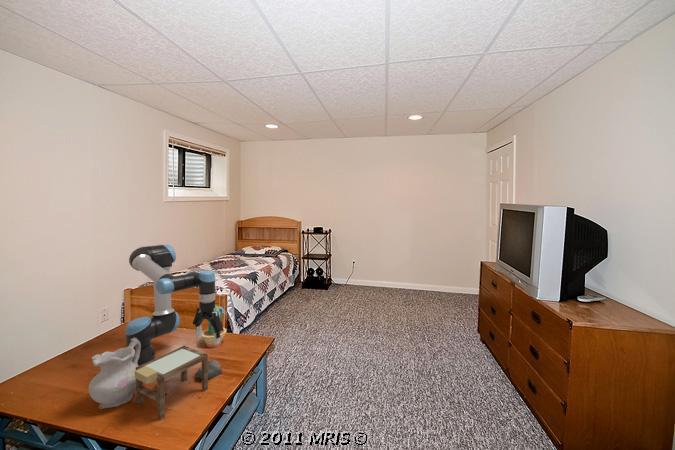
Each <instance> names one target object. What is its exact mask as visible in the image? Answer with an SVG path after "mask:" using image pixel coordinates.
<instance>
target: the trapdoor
mask: <svg viewBox="0 0 675 450" xmlns="http://www.w3.org/2000/svg"><path fill="white" fill-rule="evenodd" d="M199 356H201V355H198V354H196V353H193V352H190V351H188V350H185V349H180V350H178V351H176V352H174V353H172V354H170V355H167V356H165V357H163V358H161V359H159V360H156V361H154V362H152V363H150V364H148V365H146V366H143V367H142V368H140V369H138V370H136V371H135V378H136V379H138V380H140V381H142V382H143V383H144V384H146V385H148V384H150V383H152V382H154V381H157V378H158V377H160V376H162V375H164V374H166V373H168V372H170V371H172V370H174V369H175V368H177V367H179V366H181V365H183V364H185V363H187V362H189V361H191V360H193V359H195V358H197V357H199Z"/></svg>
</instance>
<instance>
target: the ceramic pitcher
mask: <svg viewBox="0 0 675 450" xmlns="http://www.w3.org/2000/svg"><path fill="white" fill-rule="evenodd" d="M134 346H135V347H136V352H135V350H134V349H133V348H134ZM140 350H141V343H140V341H139V340H137V338H135V337H134V338H132V339H130V344H129V346H128V347H127V348H126V347H122V348H119V349H116V350H115V351H104V352H103V353H101V354H99V353H97V354H95V355H93V356H92V357H91V362H92V365H93V366H94V367H100V372H99V373H97V374H96V375H95V376H93V378H92V379H91V380H90V382H89V384H88V393H89V396H90V397H91V399H92V400H93V401H94V402H95V403H98V404H99V405H98V409H100V410H102V409H108V408H117V407H118V408H119V407H121V406H123V405H125V404H127V403H128V402H130V401H132V400H133V397H134V394H135V393H136V378H135V371H136V367H138V364H137V362H138V359H139V356H140ZM134 354H135V356H134ZM133 357H134V361H133V362H132V360H133Z"/></svg>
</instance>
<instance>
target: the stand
mask: <svg viewBox="0 0 675 450" xmlns="http://www.w3.org/2000/svg"><path fill="white" fill-rule="evenodd" d="M180 349H185V350H188V351H190V352H193V353H196V354H198V355H201V356H199V357H197V358H195V359H193V360H191V361H189V362H187V363H185V364H183V365H181V366H179V367H177V368H175V369H174V370H172V371H170V372H168V373H166V374H164V375H162V376H158V378H157V379H156V389H157V391H154V390H152V389H151V388H149V387H147V386H145V385H143V383H144V382H142V381H140V380H138V379H136V391H135V395H136V396H135V398H136V400H135V401H136V407H138V408H140V407H142V406H143V405H144V396H147V397H148V398H149V399H152V400H153V401H156V402H157V419H158V420H160V421H161V420H163V419H164V418H165V417H166V411H165V410H166V408H165V407H166V406H165V405H166V400H165V399H166V398H165V382H166V381H168V380H170V379H172V378H173V377H176V376H178V375H179V374H180V376H181V377H180V379H181V380H180V381H181V382H185V381H187V380H188V378H187V377H188V373H187V372H188V369H191V368H192V367H194V366H196V365H198V364H200V363H201V366H202V377H201V378H202V379H201V391H202V392H206V391H208V389H209V381H208V380H209V379H208V360H209V359H208V353H205V352H202V351H200V350H196V349H194V348H191V347H189V346H186V345H183V346H180V347H178V348H175V349H174V350H171V351H168V352H167V353H165V354H162V355H161V356H158V357H155V359H153V360H151V361H149V362H147V363H145V364H142V365H140V366H138V367H136V370H138V369H140V368H142V367H143V366H146V365H148V364H150V363H152V362H154V361H156V360H159V359H161V358H163V357H165V356H167V355H170V354H172V353H174V352H176V351H178V350H180Z"/></svg>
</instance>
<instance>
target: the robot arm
mask: <svg viewBox="0 0 675 450" xmlns="http://www.w3.org/2000/svg"><path fill="white" fill-rule="evenodd" d="M176 260H177V254H176V250H175V249H174V248H173V246H172V245H170V244H158V245H157V244H156V245H149V246H148V245H147V246H141V247H138V248H136V249H135V250H133V251H132V252H131V253H130V255H129V257H128V263H129V266H130V267H131V268H132V269H133V270H134V271H137V272H139V271H140V272H141V273H142V274H143V275H145V276H146V277H147V278H148V279H150V281H152V283H153V295H154V297H153V299H154V311H153V312H152V315H151V316H152V317H149V316H143V317H142V316H141V317H138V318H135V319H133V320H131V321H129V322H128V323H127V324H126V326H125V342H126V344H125V345H126V347H125V348H127V347H128V346H129V344H130V339H132V338H134V337H135V338H137V340H139V341H140V343H141V350H140V356H139V359H138V362H137V364H138V366H140V365H142V364H145V363H147V362H149V361H151V360H153V359H156V351H155V350H154V348H153V346H152V340H153V339H155V338H159V337H162V336H164V335H167V334H168V335H169V334H171V333H173V332H175V331H176V330H177V329H178V328H179V326H180V321H181V320H180V316H179V313H178V312H177V311H176V310H175V308H173V307H172V294H173V293H175V292H179V291H185V290H189V289H192V288H196V289H198V295H199V296H198V298H199V301H198V302H199V304H198V306H199V307H198V308H196V312H195V316H194V319H193V321H192V325H194V326H195V333H196V334H195V335H196V336H195V338H196V340H199V339H201V338H202V331H203V330H202V329H203V328H202V326H203V325H202V323H203V322H204V320H208V321H210V322H211V324H212V326H213V328H214V330H215V332H214V345H217V344H219V343H220V331H222V330H223V328H224V327H223V324H222V320H221V321H220V318H219V312H218V311H217V312H214V308H215V305H216V274H215V273H216V272H215V271H214V270H208V269H206V270H201V271H199V272H198V271H188V272H187V273H186V274H180V275H176V276H175V275H173V274H171V272H170V270H171V268H172V267H173V264H174V263H175V262H176ZM212 317H213V318H212ZM208 321H207V322H208ZM220 328H221V329H220ZM133 349H134V350H135V352H136V347H135V346H134V348H133ZM134 356H135V354H134ZM133 361H134V357H133V360H132V362H133Z"/></svg>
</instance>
